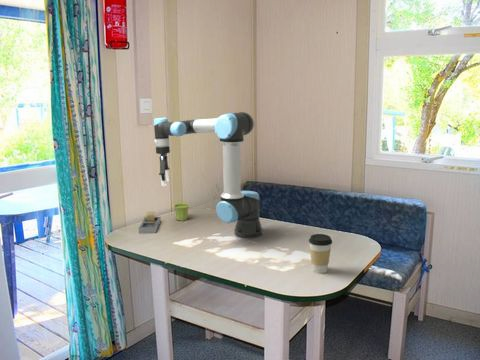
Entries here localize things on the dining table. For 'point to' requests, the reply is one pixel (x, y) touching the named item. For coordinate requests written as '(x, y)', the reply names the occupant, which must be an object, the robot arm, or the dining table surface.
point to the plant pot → (181, 211)
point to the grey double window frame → (149, 226)
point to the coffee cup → (320, 252)
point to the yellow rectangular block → (150, 216)
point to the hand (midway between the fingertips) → (165, 183)
